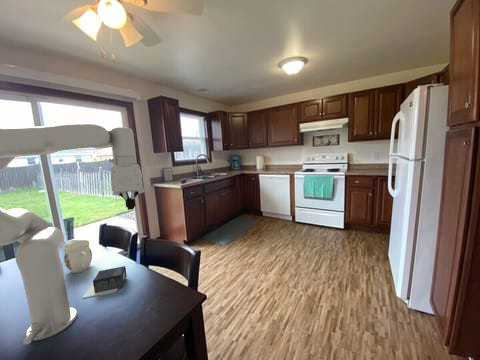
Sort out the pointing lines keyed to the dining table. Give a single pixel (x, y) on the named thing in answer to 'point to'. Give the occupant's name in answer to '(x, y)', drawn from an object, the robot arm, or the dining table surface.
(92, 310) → the dining table surface
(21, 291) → the dining table surface
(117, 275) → the box
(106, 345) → the dining table surface
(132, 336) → the dining table surface
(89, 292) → the mat
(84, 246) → the pitcher
